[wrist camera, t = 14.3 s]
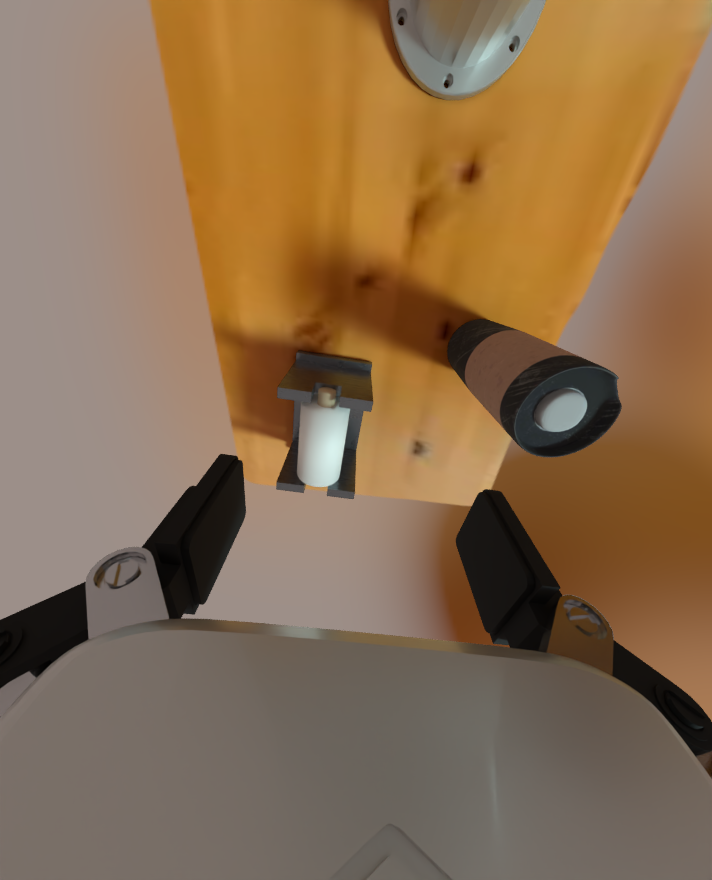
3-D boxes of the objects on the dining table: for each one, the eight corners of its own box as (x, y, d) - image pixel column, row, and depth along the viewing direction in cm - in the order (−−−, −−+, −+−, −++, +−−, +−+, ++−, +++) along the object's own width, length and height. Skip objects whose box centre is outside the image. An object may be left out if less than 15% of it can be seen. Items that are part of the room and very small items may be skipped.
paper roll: (306, 378, 34) (297, 396, 29) (353, 385, 34) (351, 405, 29) (300, 466, 41) (292, 493, 36) (339, 471, 41) (336, 499, 36)
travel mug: (435, 367, 39) (492, 447, 22) (460, 308, 35) (552, 350, 18) (486, 381, 40) (578, 468, 23) (515, 325, 36) (653, 380, 19)
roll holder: (298, 350, 38) (277, 377, 29) (371, 362, 39) (374, 392, 29) (293, 448, 47) (276, 495, 37) (354, 457, 47) (352, 504, 38)
